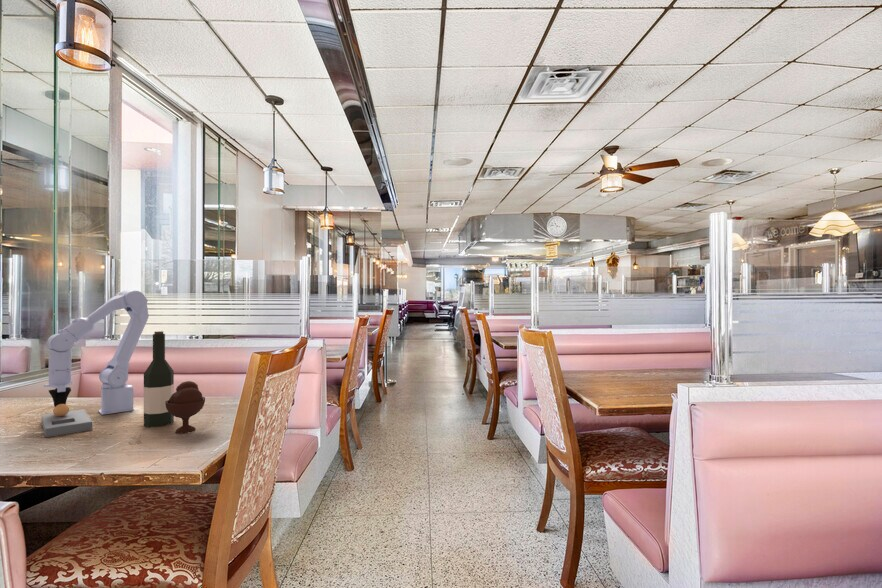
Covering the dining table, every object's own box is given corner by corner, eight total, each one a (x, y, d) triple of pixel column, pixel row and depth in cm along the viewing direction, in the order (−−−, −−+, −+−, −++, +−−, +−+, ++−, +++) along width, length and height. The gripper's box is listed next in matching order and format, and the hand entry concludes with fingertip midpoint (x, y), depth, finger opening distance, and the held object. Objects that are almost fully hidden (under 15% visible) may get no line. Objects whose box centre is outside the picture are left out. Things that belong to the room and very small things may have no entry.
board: (84, 416, 156) (84, 409, 156) (92, 429, 140) (92, 421, 140) (41, 422, 148) (41, 414, 148) (45, 437, 132) (45, 428, 132)
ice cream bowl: (159, 431, 138) (159, 382, 138) (198, 423, 146) (198, 377, 146) (170, 438, 131) (171, 387, 131) (211, 430, 139) (211, 381, 139)
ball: (68, 414, 149) (68, 402, 149) (69, 416, 146) (69, 404, 146) (52, 416, 146) (52, 404, 146) (53, 418, 144) (53, 406, 144)
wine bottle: (145, 429, 140) (145, 332, 141) (142, 423, 147) (142, 331, 147) (175, 424, 146) (175, 331, 146) (171, 418, 152) (171, 330, 152)
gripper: (43, 368, 153) (42, 408, 153) (45, 373, 142) (44, 416, 142) (69, 366, 158) (69, 405, 158) (73, 371, 147) (73, 412, 147)
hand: (59, 410), depth 150 cm, fingers closed
